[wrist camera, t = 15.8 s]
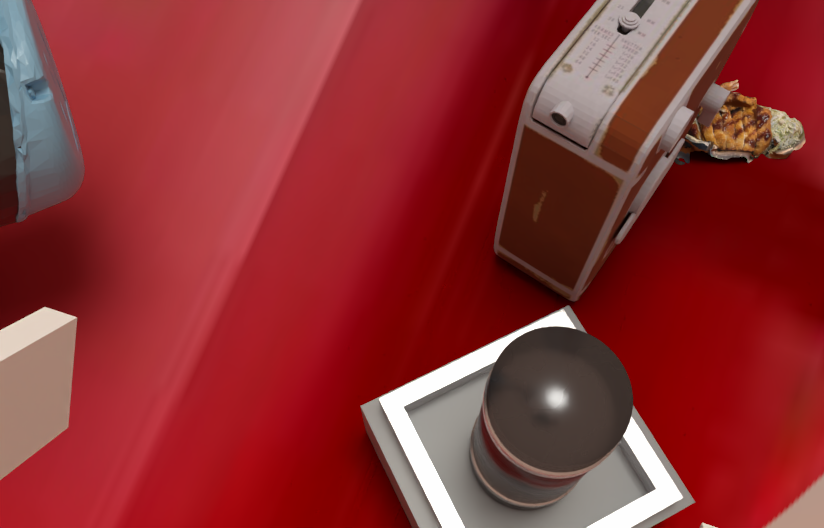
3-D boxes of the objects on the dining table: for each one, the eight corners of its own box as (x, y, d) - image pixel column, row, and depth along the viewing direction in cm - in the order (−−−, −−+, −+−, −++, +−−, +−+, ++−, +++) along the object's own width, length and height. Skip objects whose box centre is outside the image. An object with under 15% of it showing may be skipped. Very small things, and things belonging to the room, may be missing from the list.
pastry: (808, 166, 59) (830, 138, 56) (653, 169, 59) (666, 142, 56) (786, 93, 62) (806, 64, 59) (638, 96, 62) (651, 67, 59)
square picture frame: (481, 610, 40) (483, 609, 38) (380, 406, 44) (379, 398, 43) (674, 502, 42) (683, 497, 41) (559, 318, 47) (563, 309, 45)
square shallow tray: (461, 631, 45) (468, 630, 39) (366, 431, 50) (360, 406, 44) (662, 517, 47) (695, 502, 42) (552, 339, 52) (568, 304, 47)
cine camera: (711, 134, 60) (840, -82, 42) (584, 324, 53) (673, 163, 35) (607, 79, 62) (687, -149, 44) (473, 254, 55) (502, 69, 37)
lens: (502, 533, 41) (534, 495, 31) (448, 430, 44) (460, 361, 33) (600, 479, 43) (665, 425, 32) (542, 382, 45) (584, 301, 34)
